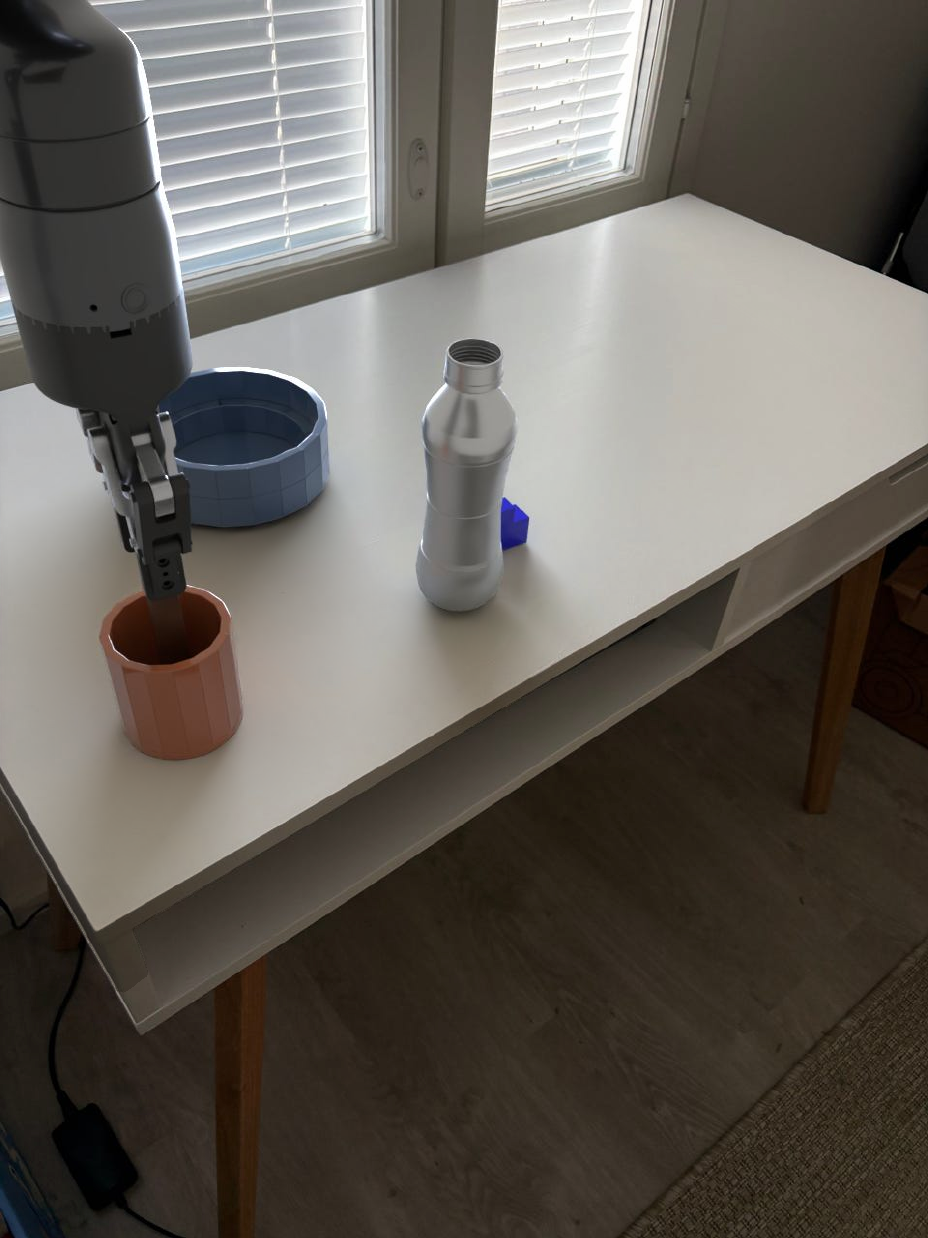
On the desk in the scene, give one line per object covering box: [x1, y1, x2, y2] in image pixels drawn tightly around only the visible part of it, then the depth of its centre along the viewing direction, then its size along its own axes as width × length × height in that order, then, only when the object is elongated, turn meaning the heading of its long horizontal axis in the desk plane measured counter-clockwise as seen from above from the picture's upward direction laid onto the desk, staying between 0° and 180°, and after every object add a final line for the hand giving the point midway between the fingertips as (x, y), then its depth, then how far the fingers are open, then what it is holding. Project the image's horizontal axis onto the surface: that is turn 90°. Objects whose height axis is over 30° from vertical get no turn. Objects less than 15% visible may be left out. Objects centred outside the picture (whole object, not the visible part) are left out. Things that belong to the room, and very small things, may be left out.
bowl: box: [159, 366, 330, 528], centre depth 84 cm, size 15×15×6 cm
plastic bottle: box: [415, 337, 519, 612], centre depth 69 cm, size 6×7×20 cm
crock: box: [98, 584, 244, 761], centre depth 63 cm, size 8×8×8 cm
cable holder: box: [501, 496, 530, 551], centre depth 82 cm, size 8×4×4 cm, turn 31°
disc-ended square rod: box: [125, 490, 190, 665], centre depth 60 cm, size 4×4×17 cm
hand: (154, 568), depth 57 cm, fingers open, 4 cm apart
